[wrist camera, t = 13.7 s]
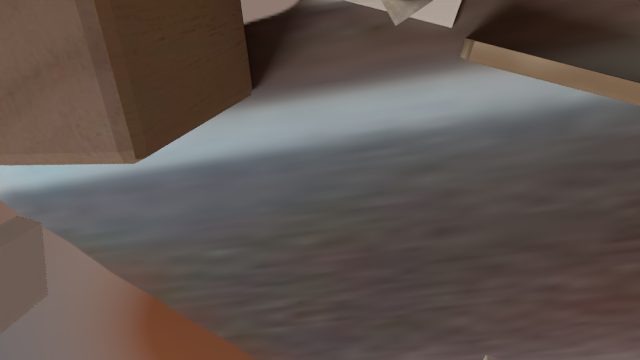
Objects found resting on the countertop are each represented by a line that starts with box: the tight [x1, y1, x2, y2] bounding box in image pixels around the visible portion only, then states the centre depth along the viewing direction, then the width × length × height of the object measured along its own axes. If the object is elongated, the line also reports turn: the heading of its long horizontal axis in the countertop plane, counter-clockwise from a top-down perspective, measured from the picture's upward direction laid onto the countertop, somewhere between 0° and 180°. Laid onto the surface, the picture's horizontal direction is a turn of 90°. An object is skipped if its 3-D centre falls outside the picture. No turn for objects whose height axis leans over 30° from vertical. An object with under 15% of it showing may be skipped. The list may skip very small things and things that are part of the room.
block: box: [0, 0, 252, 165], centre depth 28 cm, size 10×10×20 cm
